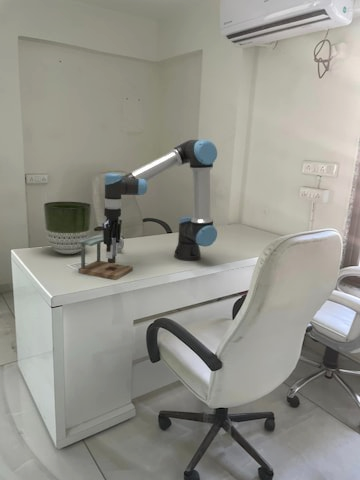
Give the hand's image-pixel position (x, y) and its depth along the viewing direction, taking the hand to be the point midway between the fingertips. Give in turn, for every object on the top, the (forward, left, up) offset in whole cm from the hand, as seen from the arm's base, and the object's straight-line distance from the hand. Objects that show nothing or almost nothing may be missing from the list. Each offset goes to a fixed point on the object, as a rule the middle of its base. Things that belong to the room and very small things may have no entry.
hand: (111, 256), depth 174 cm
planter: (+38, -17, -8) cm, 42 cm away
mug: (+17, -33, -8) cm, 38 cm away
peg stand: (+3, 0, -8) cm, 8 cm away
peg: (0, 0, -3) cm, 3 cm away
